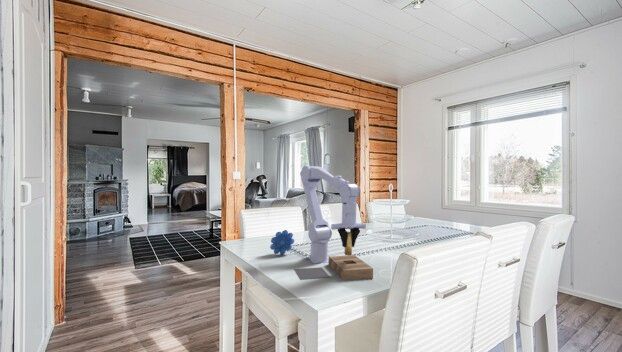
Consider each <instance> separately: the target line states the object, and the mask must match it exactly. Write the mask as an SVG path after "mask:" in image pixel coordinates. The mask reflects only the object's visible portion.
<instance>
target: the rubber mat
mask: <svg viewBox="0 0 622 352" xmlns="http://www.w3.org/2000/svg"><path fill="white" fill-rule="evenodd" d="M293 270H294V272H295V274H296V275H297V277H298V279H299V280H300V281H306V280H317V279H318V280H320V279H330V278H331V276H330V275H329V274H328V273H327V272H326V270H325V269H324V268H323V267H320V266H319V267H308V268H307V267H305V268H293Z"/></svg>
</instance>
